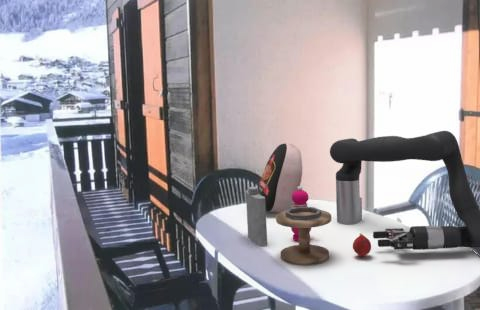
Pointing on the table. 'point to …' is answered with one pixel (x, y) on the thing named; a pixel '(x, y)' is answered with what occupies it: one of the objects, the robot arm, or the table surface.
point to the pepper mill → (299, 201)
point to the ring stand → (304, 235)
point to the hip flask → (256, 217)
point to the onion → (362, 245)
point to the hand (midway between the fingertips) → (375, 239)
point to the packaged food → (281, 178)
